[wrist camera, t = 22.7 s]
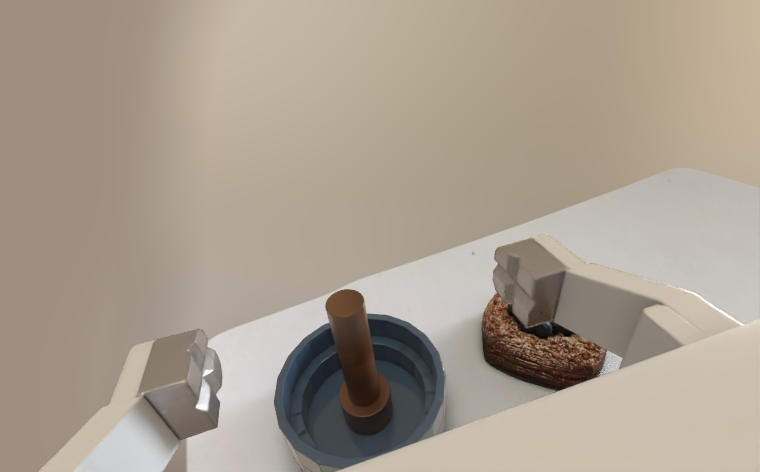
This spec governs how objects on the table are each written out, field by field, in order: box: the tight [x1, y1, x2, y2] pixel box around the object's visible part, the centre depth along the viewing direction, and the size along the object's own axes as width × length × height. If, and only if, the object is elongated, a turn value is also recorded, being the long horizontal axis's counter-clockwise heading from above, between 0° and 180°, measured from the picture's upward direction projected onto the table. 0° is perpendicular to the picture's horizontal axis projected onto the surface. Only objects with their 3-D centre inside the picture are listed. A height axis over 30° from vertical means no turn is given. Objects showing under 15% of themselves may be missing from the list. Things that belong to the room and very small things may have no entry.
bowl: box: [274, 314, 446, 472], centre depth 33 cm, size 14×14×6 cm
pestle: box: [326, 289, 393, 435], centre depth 30 cm, size 5×5×14 cm
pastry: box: [482, 293, 607, 391], centre depth 37 cm, size 11×12×6 cm
